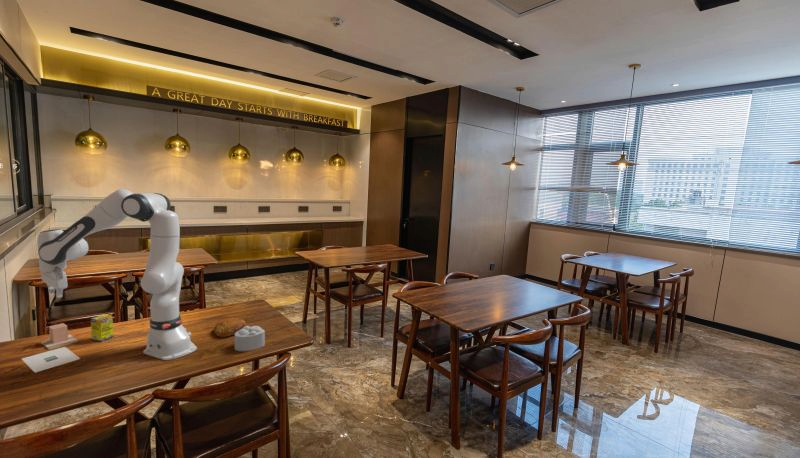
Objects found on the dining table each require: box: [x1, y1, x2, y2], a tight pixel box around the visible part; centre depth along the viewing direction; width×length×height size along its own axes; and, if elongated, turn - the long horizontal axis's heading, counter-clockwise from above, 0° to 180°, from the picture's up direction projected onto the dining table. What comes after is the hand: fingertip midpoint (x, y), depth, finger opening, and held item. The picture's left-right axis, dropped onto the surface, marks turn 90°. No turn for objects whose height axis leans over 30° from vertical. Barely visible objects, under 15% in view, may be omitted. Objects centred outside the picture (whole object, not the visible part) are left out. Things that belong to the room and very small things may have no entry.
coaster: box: [40, 333, 78, 350], centre depth 167 cm, size 10×10×1 cm
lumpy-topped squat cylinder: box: [234, 325, 266, 352], centre depth 173 cm, size 10×13×9 cm
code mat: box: [21, 346, 81, 373], centre depth 153 cm, size 18×14×1 cm
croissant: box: [213, 317, 247, 338], centre depth 188 cm, size 14×16×8 cm
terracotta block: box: [48, 322, 69, 344], centre depth 166 cm, size 5×5×7 cm
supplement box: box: [90, 313, 114, 343], centre depth 172 cm, size 6×6×11 cm
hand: (55, 294), depth 164 cm, fingers open, 8 cm apart
